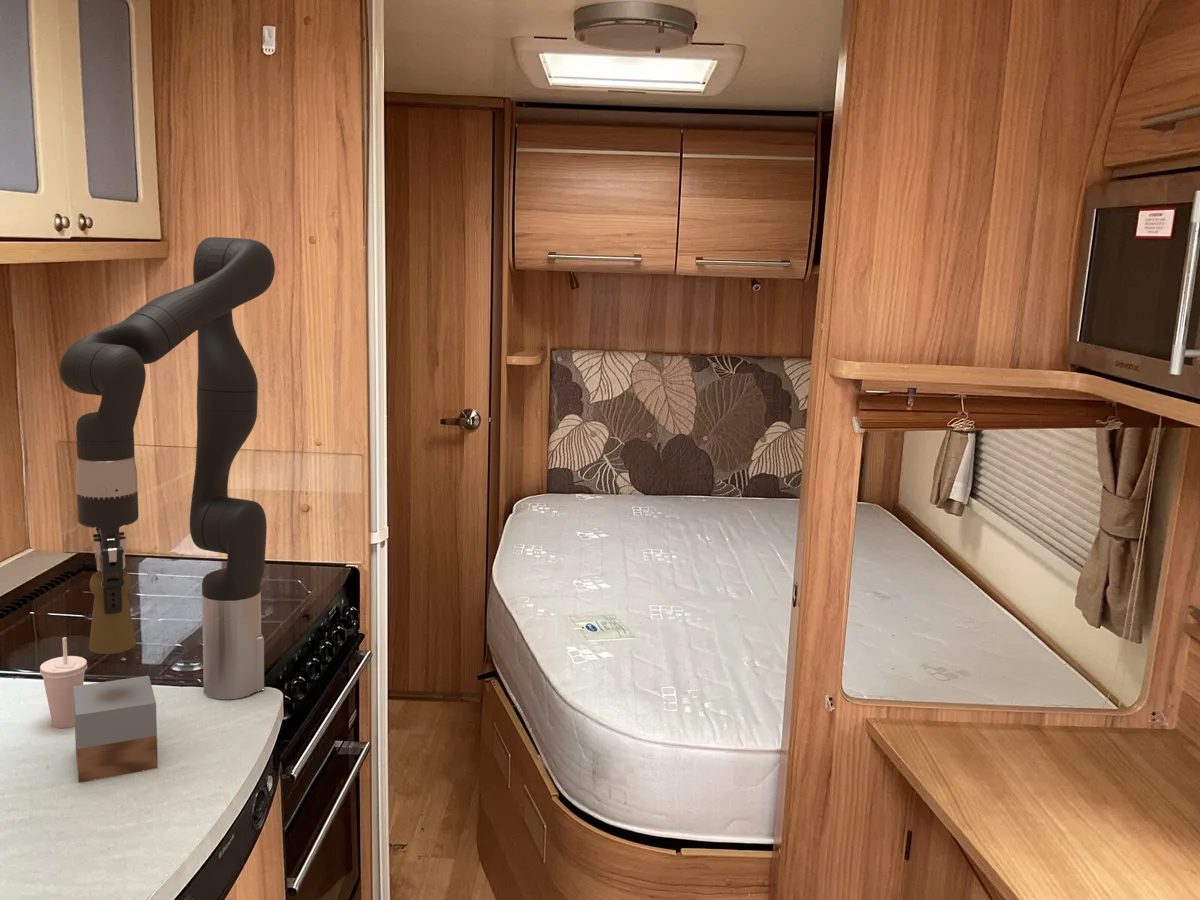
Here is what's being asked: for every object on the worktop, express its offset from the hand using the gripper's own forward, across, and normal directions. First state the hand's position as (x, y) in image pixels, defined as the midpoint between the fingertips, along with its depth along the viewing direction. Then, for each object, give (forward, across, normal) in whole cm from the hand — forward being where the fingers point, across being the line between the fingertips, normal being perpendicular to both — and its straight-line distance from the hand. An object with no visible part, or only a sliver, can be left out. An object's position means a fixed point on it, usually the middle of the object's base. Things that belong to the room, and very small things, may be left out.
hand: (111, 605), depth 136 cm
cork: (+6, 0, 0) cm, 6 cm away
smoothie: (+24, +15, +6) cm, 29 cm away
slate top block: (+18, 0, 0) cm, 18 cm away
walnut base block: (+23, 0, 0) cm, 23 cm away
